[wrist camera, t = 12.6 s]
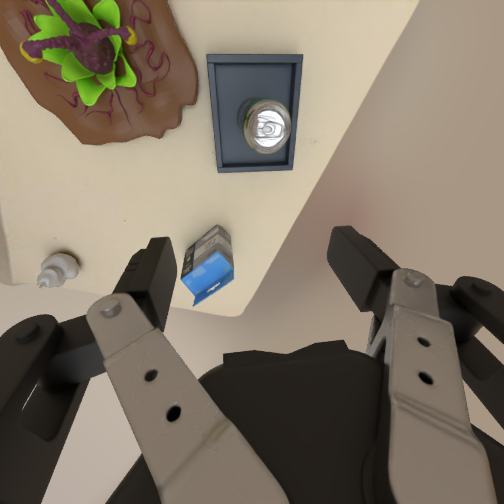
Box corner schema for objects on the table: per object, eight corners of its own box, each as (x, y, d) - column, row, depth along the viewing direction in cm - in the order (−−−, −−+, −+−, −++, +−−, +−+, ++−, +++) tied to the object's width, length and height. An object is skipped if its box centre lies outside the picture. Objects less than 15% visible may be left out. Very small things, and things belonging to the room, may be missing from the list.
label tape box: (217, 223, 42) (216, 264, 32) (232, 237, 44) (235, 280, 34) (185, 250, 44) (174, 295, 34) (200, 262, 46) (194, 308, 36)
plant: (-51, -33, 22) (-241, -121, 13) (123, -129, 20) (42, -312, 11) (94, 164, 34) (47, 190, 25) (214, 115, 32) (211, 123, 23)
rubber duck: (84, 252, 42) (59, 281, 36) (82, 277, 45) (59, 308, 39) (49, 244, 40) (16, 273, 34) (50, 271, 44) (20, 302, 37)
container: (207, 57, 28) (206, 53, 26) (297, 57, 29) (303, 54, 27) (218, 168, 36) (217, 173, 34) (288, 165, 37) (292, 170, 35)
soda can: (239, 94, 30) (247, 93, 20) (275, 100, 31) (299, 103, 21) (235, 135, 33) (240, 152, 23) (268, 140, 34) (287, 159, 24)
